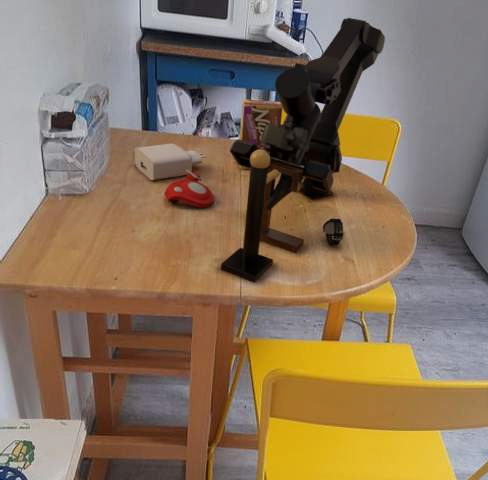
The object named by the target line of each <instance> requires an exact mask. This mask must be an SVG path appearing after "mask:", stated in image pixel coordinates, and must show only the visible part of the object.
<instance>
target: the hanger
mask: <svg viewBox="0 0 488 480" xmlns="http://www.w3.org/2000/svg"><path fill="white" fill-rule="evenodd" d="M273 170H278V172H279V174H281V173H282V174H286V175H289V176H292V183H291V190H290V191H292V193H296V194H297V193H299V190H300V188H301V182H302V175H303V170H301V169H298V168H294V167H291V166H288V165H284V164H281V163H277V162H274V161H270V164H269V166H268V174H269V173H270V172H271V171H273ZM276 179H277V177H276V178H275V179H273V180H272V181H270V182H269V183H268V184H266V191H265V200H264V209H263V218H262V227H261V235H260V242H263V243H265V244H268V245H272V246H274V247H277V248H280V249H282V250H285V251H288V252H291V253H294V254H297V253H298V252H299V251H300V250H301V249H302V248H303V247H304V242H305V239H304V238H301V237H298V236H295V235H292V234H289V233H286V232H284V231H281V230H277V229H274V228H272V227H271V220H272V219H271V218H272V212H273V208H272V209H271V210H267V205H268V202H269V199H270V197H271V195H272V193H273V191H274V189H275V187H276V184H275V183H276Z"/></svg>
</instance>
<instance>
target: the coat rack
mask: <svg viewBox="0 0 488 480" xmlns="http://www.w3.org/2000/svg"><path fill="white" fill-rule="evenodd" d="M250 163H251V169H249V170H250V171H249V180H248V190H247V191H248V192H247V202H246V211H245V212H246V213H245V224H244V234H243V235H244V236H243V245H242V247H239V248H238V249H237V250H236V251H234V252H233V253H232V254H231V255H230V256H228V257H227V258H226V259H225V260H224V261H223V262H221V264H220V271H223V272H226V273H228V274H230V275H233V276H236V277H239V278H241V279H244V280H247V281H249V282H252V283H256V282H257V281H258V280H259V279H260V278H261V277H262V276H263V275H264V274H265V273H266V272H267V271H268V270H269V269H270V268H271V267H272V266H273V263H274V259H273V258H270V257H268V256H265V255H262V254H260V245H261V244H260V243H261V241H260V235H261V227H262V218H263V209H264V200H265V191H266V184H268V183H269V182H270V181H272V180H273V179H275V178H276V179H277V177H280V173H279V172H278V170H273V171H271V172H270V173H269V174H268V166H269V164H270V156H269V154H268V153H267V152H266V151H264V150H256V151H254V152H253V153H252V155H251V157H250ZM276 179H275V180H276Z"/></svg>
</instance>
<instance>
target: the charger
mask: <svg viewBox="0 0 488 480" xmlns="http://www.w3.org/2000/svg"><path fill="white" fill-rule="evenodd" d="M203 154H204V153H203V152H197V151H196V150H194V149H191V150H185V149H184V148H182V147H180V146H179V145H177V144H175V143H164V144H156V145H149V146H140V147H135V148H134V160H135V161H134V163H135V166H136V168H137V170H139V171H140V172H141V173H142V174H143V175H145V176H146V177H147V178H148V179H149V180H151V181H157V180H162V179H163V180H164V179H167V178H175V177H180V176H187V174H188V172H187V171H186V170H189V171H192V172H193V165H195V164H201V163H203V158H204V159H205V158H207V155H206V154H205V155H203Z"/></svg>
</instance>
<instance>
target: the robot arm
mask: <svg viewBox="0 0 488 480" xmlns="http://www.w3.org/2000/svg"><path fill="white" fill-rule="evenodd" d="M385 40H386V36H385V35H384V33H383V32H382V30H381V28H376V27H375V26H372V25H371V24H370V23H369V22H367V21H366V20H363V19H358V18H352V17H347V18H344V19H343V20H342V22H341V25H340V29H339V30H338V31H337V33H336V34H335V35H334V37H333V38H332V40H331V42H330V43H329V44H328V46H327V47H326V48H325V50H324V51H323V53H322V54H321V56H319V57H318V58H314V59H310V60H309V61H308V62H307V63H306V64H303V63H299V62H296V63H295V65H294V66H293V67H292V68H288V69H286V70H284V71H283V72H281V73H280V74H279V75H278V76H277V77H276V79H275V83H274V88H275V91H276V94H277V97H278V99H279V102H280V103H281V105H282V111H283V112H284V113H285V114H286V115H285V118H284V120H283V123H281V124H279V126H278V127H276V126H272V125H268V124H266V125H265V128H264V132H263V135H262V139H261V143H262V144H263V143H264V144H267V145H266V147H265V148H266V150H267V151H269V152H270V153H269V156H270V161H274V162H277V163H281V164H284V165H288V166H291V167H294V168H298V169H301V170H303V175H302V182H301V188H300V190H299V191H298V193H301V194H302V195H303V196H305V197H307V199H310V200H318V199H322V198H327V197H331V196H334V192H333V191H332V190H331V189H332V186H333V184H334V176H333V174H335V173H340V171H341V166H342V161H343V156H342V152H341V148H340V146H341V140H340V135H339V129H340V127H341V124H342V122H343V120H344V117H345V114H346V112H347V110H348V107H349V105H350V103H351V101H352V98H353V95H354V93H355V90H356V89H357V86H358V84H359V81H360V80H361V76H362V74H363V72H365V71H366V70H367V69H368V68H370V67H371V66H373V65H374V64H375V63H376V60H377V59H378V56H379V54H381V53H382V52H383V50H384V46H385V42H386V41H385ZM318 104H323V108H322V110H321V108H320V106H319V105H318ZM256 150H258V148H257V147H256V145H255V144H254V143H250V142H247V141H243V140H240V138H239V139H237V140H234V142H232V145H231V147H230V148H229V152H230V154H231V155H232V157H233V159H234V160H235V162H236V163H237V165H238V166H239V165H240V166H243V167H246V168H250V169H251V163H250V157H251V155H252V153H253V152H254V151H256ZM250 169H249V170H250ZM291 183H292V176H289V175H286V174H282V173H280V175H279V180H278V182H277V183H276V184H275V187H274V191H273V193H272V195H271V197H270V199H269V202H268V205H267V210H271V209H272V210H273V208H274V207H275V206H276V205H278V204H279V203H280V202H281V201H282V200H283V199H284V198H286V196H288V195H289V194H292V193H293V191H290V190H291Z"/></svg>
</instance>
